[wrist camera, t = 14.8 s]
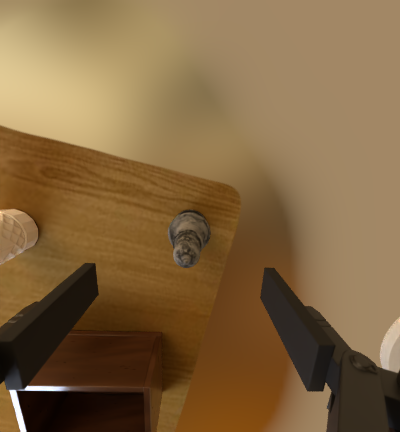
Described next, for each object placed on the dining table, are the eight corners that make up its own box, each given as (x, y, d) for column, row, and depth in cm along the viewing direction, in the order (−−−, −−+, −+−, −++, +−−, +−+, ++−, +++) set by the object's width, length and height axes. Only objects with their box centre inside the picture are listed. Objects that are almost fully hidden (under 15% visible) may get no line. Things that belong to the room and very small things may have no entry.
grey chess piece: (213, 212, 29) (224, 241, 17) (203, 247, 30) (207, 295, 18) (175, 203, 28) (161, 227, 17) (167, 239, 30) (148, 283, 18)
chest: (56, 329, 33) (7, 385, 25) (161, 332, 34) (149, 387, 25) (67, 391, 37) (27, 459, 28) (162, 392, 37) (152, 459, 29)
